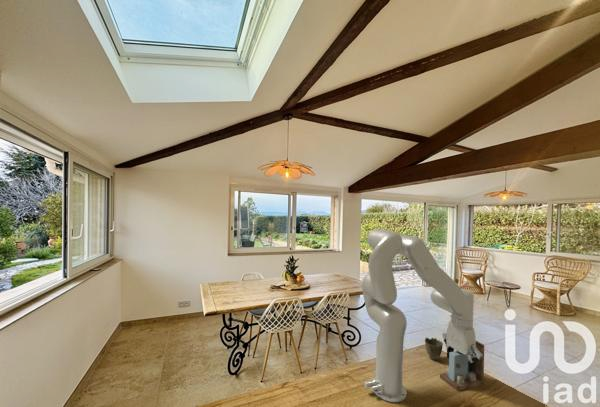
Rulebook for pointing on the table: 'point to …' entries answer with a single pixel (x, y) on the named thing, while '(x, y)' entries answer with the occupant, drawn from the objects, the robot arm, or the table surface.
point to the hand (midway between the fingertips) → (460, 364)
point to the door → (458, 365)
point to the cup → (433, 348)
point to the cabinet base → (473, 378)
